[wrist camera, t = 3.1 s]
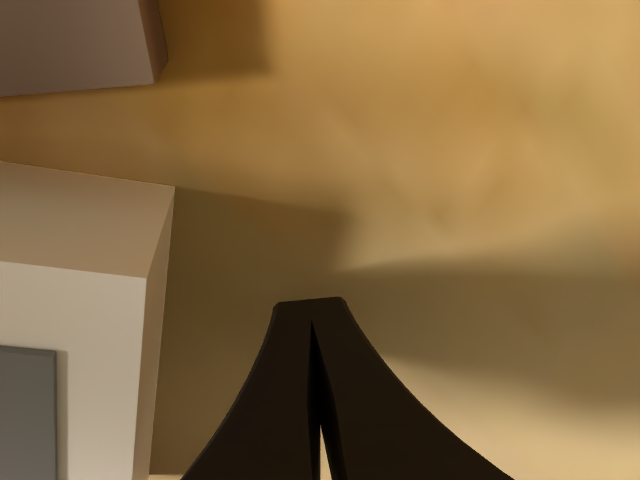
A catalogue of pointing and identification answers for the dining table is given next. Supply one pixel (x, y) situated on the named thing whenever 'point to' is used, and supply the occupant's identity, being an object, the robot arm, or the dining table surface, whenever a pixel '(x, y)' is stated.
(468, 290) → the dining table surface
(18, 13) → the guide rails
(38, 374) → the block
